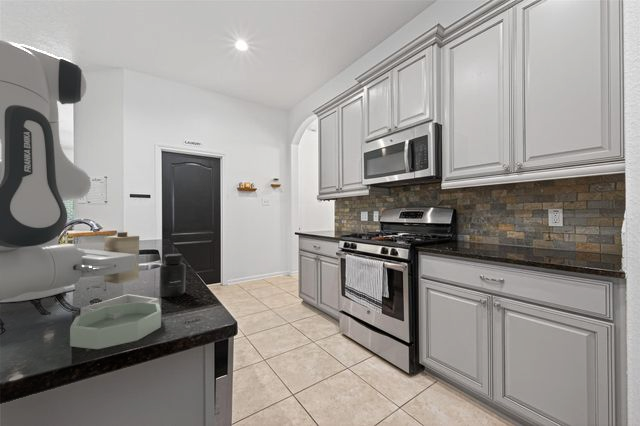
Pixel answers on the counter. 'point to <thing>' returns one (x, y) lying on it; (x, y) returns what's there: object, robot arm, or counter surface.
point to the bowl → (115, 325)
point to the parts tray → (118, 301)
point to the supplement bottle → (172, 276)
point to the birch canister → (122, 245)
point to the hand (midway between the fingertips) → (127, 255)
